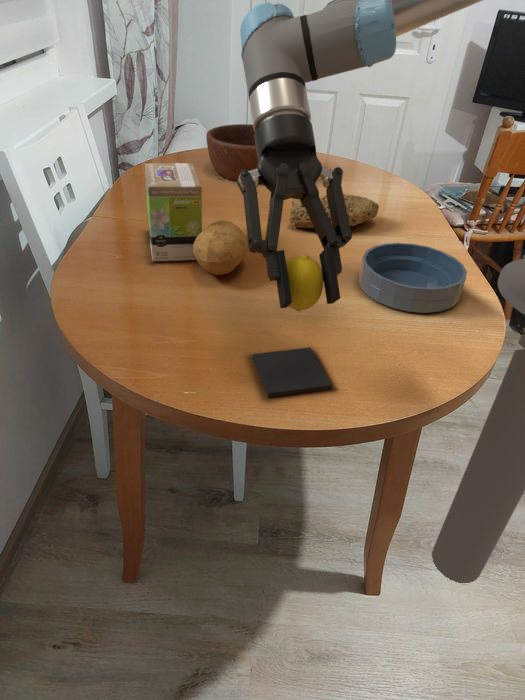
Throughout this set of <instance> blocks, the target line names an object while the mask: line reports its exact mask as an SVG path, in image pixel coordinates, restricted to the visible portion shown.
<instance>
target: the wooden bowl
mask: <svg viewBox="0 0 525 700" xmlns="http://www.w3.org/2000/svg"><path fill="white" fill-rule="evenodd" d="M254 134H255V132H254V129H253V124H249V123H248V124H247V123H246V124H245V123H244V124H243V123H241V124H236V123H235V124H228V125H220V126H216V127H214V128H211V129H210V130H208V131H207V132H206V135H205V136H206V137H205V138H206V146H207V152H208V156H209V160H210V163H211V165H212V168H213V169H214V171H215V173H216V174H218V175H219V176H221V177H223V178H225V179H228V180H232V181H236V182H237V181H238V179H239V176H240V173H241V171H242V170H244V169H246V170H248V171H252V170H255V169H257V167H258V158H257V151H256V144H255V137H254ZM258 183H262V182H261V181H260V180H259V179H258Z"/></svg>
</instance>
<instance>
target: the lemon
mask: <svg viewBox="0 0 525 700" xmlns="http://www.w3.org/2000/svg"><path fill="white" fill-rule="evenodd" d="M286 266H287V272H288V279H289V285H290V292H291V298H292V303H291V304H290V305H289V306H288V307H289V308H291V309H293V310H295V311H296V312H301V311H305V310H308V309H310V308H312V307H314V306H315V305H316V304H317V303H318V301H319V300H320V298H321V296H322V293H323V289H324V281H323V274H322V269H321V265H320V264H319V263H318V262H317V261H316V260H315V259H314V258H312V257H310V256H308V255H306V254H301V255H299V256H296V257H293V258H292V259H290V260H289V261H288V262H286Z"/></svg>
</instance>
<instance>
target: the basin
mask: <svg viewBox="0 0 525 700" xmlns="http://www.w3.org/2000/svg"><path fill="white" fill-rule="evenodd" d="M467 273H468V271H467V269H466V267H465V266H464V263H462V262H461V261H459V260H458V259H457V258H456V257H454V256H452V255H451V254H449V253H446V252H445V251H443V250H441V249H437V248H433V247H430V246H428V245H421V244H416V243H406V242H389V243H381V244H378V245H375V246H372V247H370V248H369V249H367V250H366V251H365V252H364V254H363V256H362V258H361V263H360V270H359V275H358V283H359V287H360V289H361V290H362V291H363V292H364V293H365V295H367V296H368V297H369V298H371V299H372V300H374V301H375V302H377V303H379V304H381V305H384V306H387V307H388V308H392V309H396V310H399V311H400V310H401V311H405V312H410V313H422V314H423V313H424V314H427V313H439V312H443V311H446V310H448V309H451V308H453V307H454V306H455V305H456V304H458V303H459V302H460V298H461V295H462V293H463V289H464V286H465V283H466V279H467Z"/></svg>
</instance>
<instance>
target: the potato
mask: <svg viewBox="0 0 525 700" xmlns="http://www.w3.org/2000/svg"><path fill="white" fill-rule="evenodd" d="M247 251H248V244H247V240H246V238H245V236H244V233H243V231H242V230H241V228H240V227H239V226H237V225H236V224H235V223H233V222H232V221H228V220H224V219H222V220H221V219H220V220H217V221H215V222H212V223H211V224H210V225H208V226H207V227H206V228H205V229H202V232H201V233H200V234H199V235H198V236H197V238H196V240H195V242H194V244H193V253H194V255H195V257H196V259H197V260H196V262H197V263H198V265H199V266H200V267H201V268H202V269H204V270H205V271H206V273H208V274H211V275H212V274H213V275H214V276H223V275H226V274H230V273H231V272H232V271H234V270H235V268H237V267H238V265H239V264H240V263H241V262H242V261H243V260H244V259H245V257H246V255H247Z"/></svg>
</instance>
